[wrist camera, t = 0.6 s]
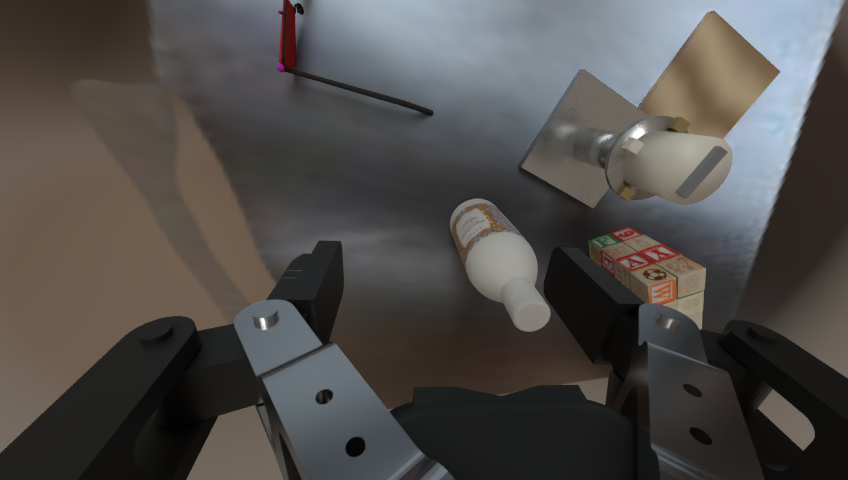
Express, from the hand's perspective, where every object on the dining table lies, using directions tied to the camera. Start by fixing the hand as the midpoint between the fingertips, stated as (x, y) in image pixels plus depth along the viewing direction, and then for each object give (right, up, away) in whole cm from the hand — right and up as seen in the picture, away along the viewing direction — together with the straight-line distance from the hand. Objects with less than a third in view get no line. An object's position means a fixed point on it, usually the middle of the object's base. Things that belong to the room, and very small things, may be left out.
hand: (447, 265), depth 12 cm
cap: (+20, +8, +16) cm, 27 cm away
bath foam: (+6, +3, +30) cm, 31 cm away
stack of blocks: (+29, -7, +37) cm, 47 cm away
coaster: (+32, +18, +25) cm, 45 cm away
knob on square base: (+19, +13, +26) cm, 35 cm away
